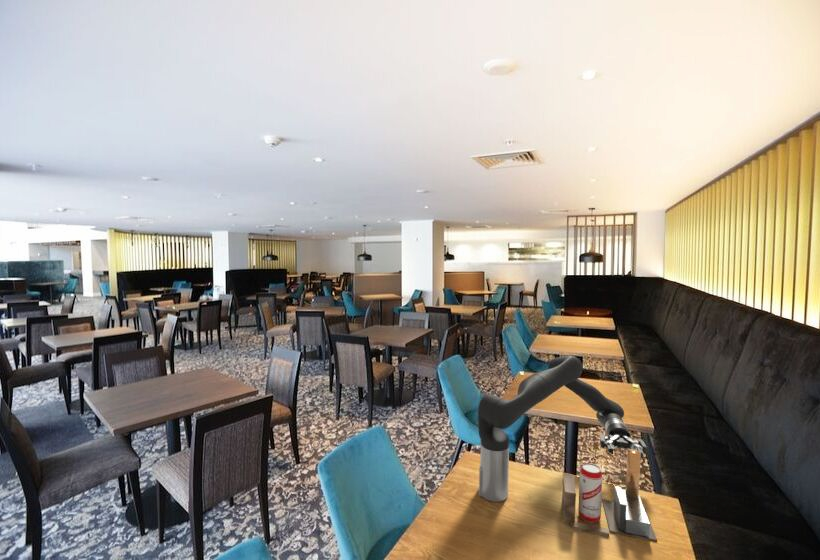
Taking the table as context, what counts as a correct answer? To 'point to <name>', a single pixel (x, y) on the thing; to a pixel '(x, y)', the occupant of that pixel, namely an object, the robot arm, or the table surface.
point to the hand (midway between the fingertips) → (626, 453)
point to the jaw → (631, 500)
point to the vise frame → (569, 518)
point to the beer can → (590, 493)
